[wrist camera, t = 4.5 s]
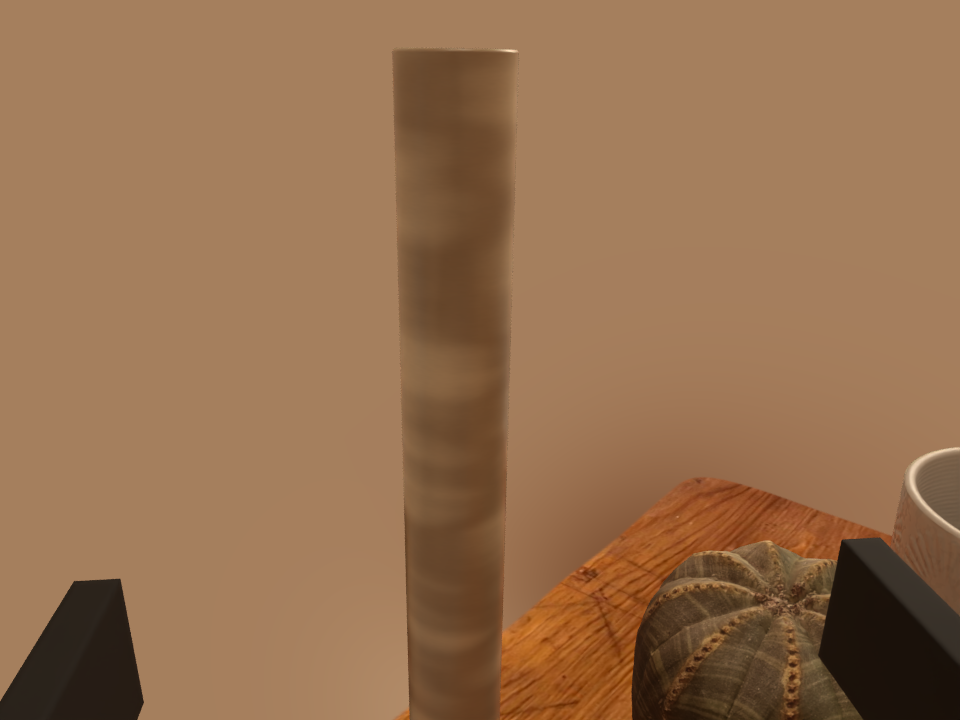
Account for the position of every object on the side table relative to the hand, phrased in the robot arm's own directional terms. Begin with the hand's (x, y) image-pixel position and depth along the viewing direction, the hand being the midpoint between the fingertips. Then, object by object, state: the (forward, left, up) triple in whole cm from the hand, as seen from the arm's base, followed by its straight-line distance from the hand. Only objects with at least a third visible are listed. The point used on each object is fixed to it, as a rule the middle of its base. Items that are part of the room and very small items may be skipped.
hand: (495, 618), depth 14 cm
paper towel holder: (+3, +9, -20) cm, 22 cm away
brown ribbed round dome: (+15, +6, -20) cm, 26 cm away
